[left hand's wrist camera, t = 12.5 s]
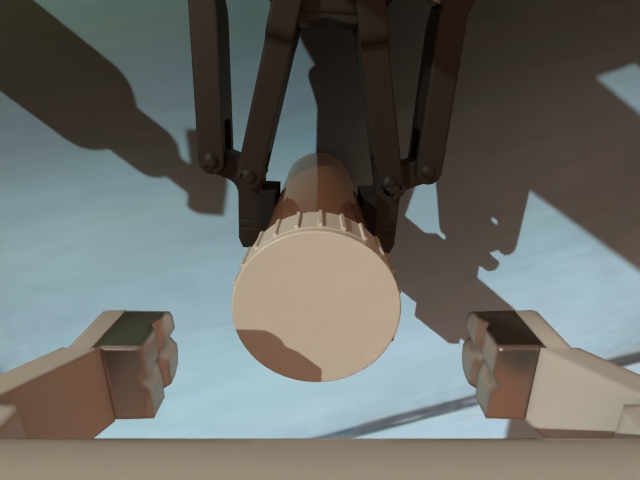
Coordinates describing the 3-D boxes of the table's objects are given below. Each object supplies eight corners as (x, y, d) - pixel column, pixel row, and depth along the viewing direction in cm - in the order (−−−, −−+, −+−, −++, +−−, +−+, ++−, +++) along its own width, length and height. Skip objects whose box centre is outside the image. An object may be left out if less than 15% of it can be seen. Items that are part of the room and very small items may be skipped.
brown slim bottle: (363, 191, 28) (418, 318, 12) (312, 227, 29) (302, 389, 13) (325, 138, 27) (333, 204, 11) (273, 178, 28) (211, 290, 12)
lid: (421, 296, 14) (436, 328, 12) (302, 370, 15) (299, 411, 13) (334, 177, 13) (336, 192, 11) (210, 267, 14) (192, 295, 12)
